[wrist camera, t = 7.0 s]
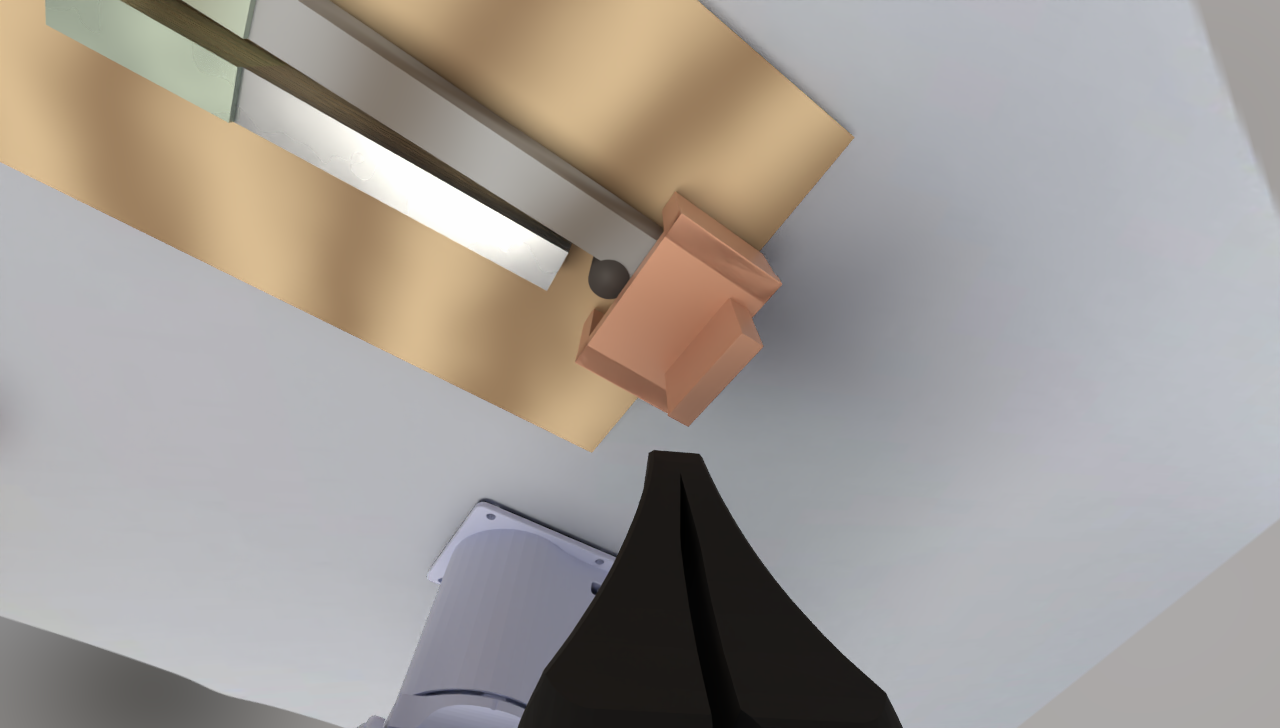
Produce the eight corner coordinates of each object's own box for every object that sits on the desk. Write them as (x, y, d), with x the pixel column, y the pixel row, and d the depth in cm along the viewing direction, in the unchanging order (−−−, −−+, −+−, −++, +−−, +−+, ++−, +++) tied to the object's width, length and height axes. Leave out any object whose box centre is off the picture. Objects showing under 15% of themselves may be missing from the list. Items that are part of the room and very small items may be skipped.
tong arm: (575, 234, 18) (567, 254, 16) (555, 269, 19) (546, 293, 17) (123, -30, 14) (43, -44, 12) (121, 28, 15) (45, 24, 13)
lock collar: (763, 252, 18) (803, 318, 14) (664, 371, 21) (670, 457, 17) (675, 190, 17) (687, 239, 13) (583, 324, 20) (565, 403, 15)
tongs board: (843, 133, 17) (885, 149, 14) (593, 438, 25) (586, 491, 22) (24, -579, 10) (-228, -836, 7) (23, 153, 18) (-100, 173, 15)
